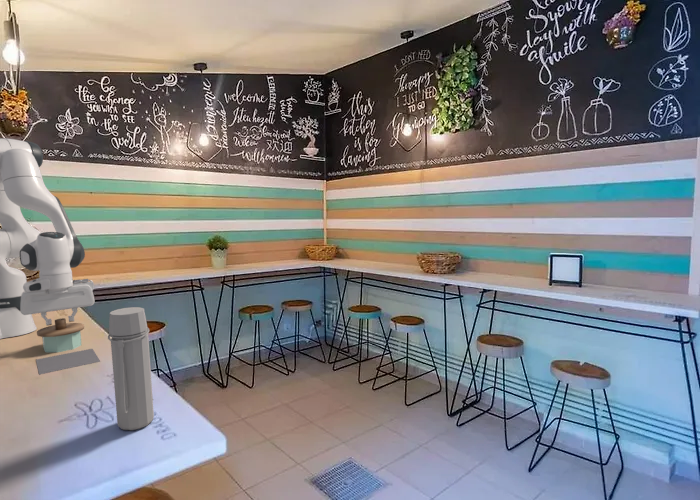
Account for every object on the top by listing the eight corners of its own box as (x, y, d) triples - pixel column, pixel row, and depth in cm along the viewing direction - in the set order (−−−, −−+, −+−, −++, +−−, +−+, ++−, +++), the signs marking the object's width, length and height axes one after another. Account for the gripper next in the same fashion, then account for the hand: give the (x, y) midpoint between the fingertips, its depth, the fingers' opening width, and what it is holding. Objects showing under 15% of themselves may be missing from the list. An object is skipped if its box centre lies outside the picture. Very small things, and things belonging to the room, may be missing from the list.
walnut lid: (26, 337, 136) (25, 325, 136) (56, 325, 149) (55, 314, 149) (66, 337, 136) (65, 325, 135) (92, 325, 149) (91, 314, 148)
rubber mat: (36, 361, 132) (35, 359, 132) (92, 350, 141) (92, 348, 141) (39, 376, 120) (39, 374, 120) (100, 362, 129) (100, 361, 129)
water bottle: (124, 416, 97) (116, 307, 94) (160, 414, 97) (153, 306, 94) (105, 438, 88) (95, 318, 85) (145, 436, 88) (136, 317, 85)
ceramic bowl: (36, 353, 138) (34, 335, 138) (59, 343, 148) (57, 326, 148) (66, 353, 138) (65, 335, 137) (87, 343, 148) (85, 326, 147)
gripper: (91, 276, 150) (95, 315, 151) (17, 284, 137) (21, 327, 138) (94, 279, 145) (98, 319, 146) (18, 287, 132) (22, 331, 133)
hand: (60, 323), depth 142 cm, fingers open, 5 cm apart
